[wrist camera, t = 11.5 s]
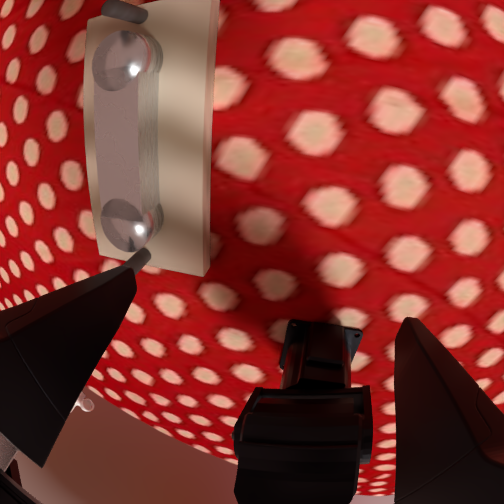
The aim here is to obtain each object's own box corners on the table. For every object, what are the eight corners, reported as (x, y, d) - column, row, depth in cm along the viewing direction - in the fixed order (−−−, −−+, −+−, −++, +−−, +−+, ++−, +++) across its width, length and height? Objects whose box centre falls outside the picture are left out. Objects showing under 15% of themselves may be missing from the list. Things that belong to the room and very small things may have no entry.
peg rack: (210, 266, 24) (185, 304, 20) (109, 247, 25) (75, 275, 21) (220, -1, 14) (188, -26, 10) (99, 21, 16) (55, 15, 11)
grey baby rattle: (165, 241, 22) (149, 256, 20) (122, 233, 22) (105, 247, 20) (165, 31, 14) (145, 25, 12) (115, 40, 15) (93, 37, 13)
